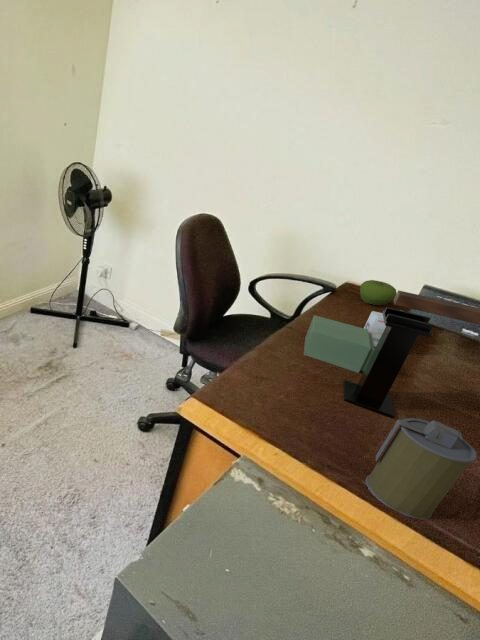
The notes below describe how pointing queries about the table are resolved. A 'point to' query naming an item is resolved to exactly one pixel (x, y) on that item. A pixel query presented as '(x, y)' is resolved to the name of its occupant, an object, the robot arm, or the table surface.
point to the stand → (387, 361)
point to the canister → (419, 466)
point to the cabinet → (337, 343)
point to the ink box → (375, 326)
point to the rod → (438, 307)
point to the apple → (377, 292)
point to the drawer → (368, 353)
